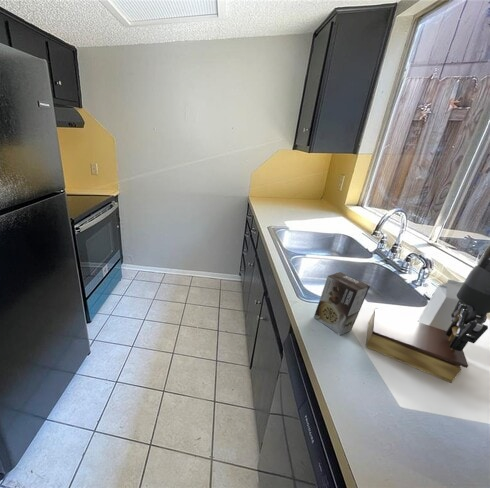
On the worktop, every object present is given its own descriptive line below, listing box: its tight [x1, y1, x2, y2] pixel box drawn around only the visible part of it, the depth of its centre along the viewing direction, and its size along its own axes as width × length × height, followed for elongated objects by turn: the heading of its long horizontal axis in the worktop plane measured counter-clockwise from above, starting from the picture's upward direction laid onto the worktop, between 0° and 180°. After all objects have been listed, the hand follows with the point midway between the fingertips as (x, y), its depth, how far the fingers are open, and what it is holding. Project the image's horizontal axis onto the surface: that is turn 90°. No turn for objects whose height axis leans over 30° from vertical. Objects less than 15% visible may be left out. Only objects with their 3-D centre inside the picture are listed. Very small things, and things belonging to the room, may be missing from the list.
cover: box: [372, 308, 469, 369], centre depth 70 cm, size 18×14×5 cm
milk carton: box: [416, 278, 467, 331], centre depth 75 cm, size 7×7×19 cm
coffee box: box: [313, 271, 371, 336], centre depth 79 cm, size 9×6×16 cm
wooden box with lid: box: [365, 311, 462, 384], centre depth 73 cm, size 18×14×5 cm
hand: (452, 342), depth 67 cm, fingers closed on cover, 5 cm apart
